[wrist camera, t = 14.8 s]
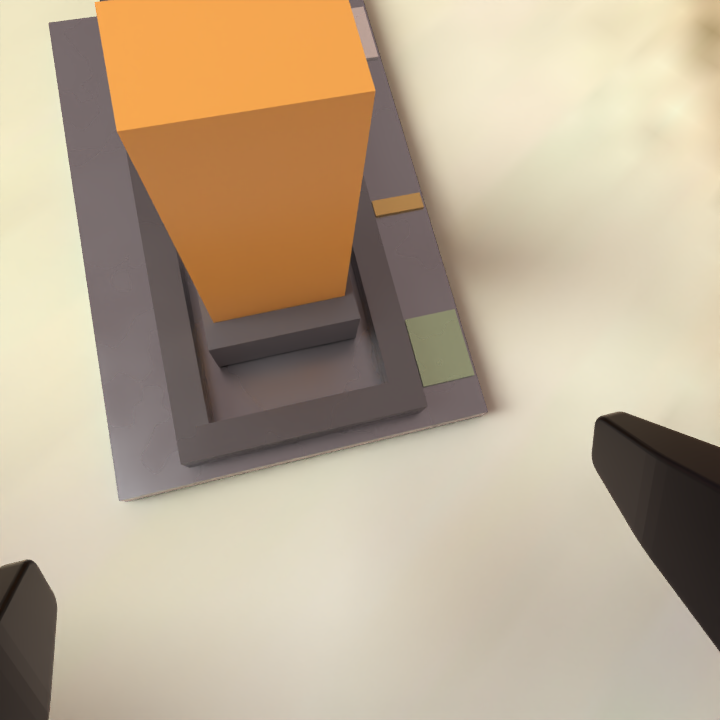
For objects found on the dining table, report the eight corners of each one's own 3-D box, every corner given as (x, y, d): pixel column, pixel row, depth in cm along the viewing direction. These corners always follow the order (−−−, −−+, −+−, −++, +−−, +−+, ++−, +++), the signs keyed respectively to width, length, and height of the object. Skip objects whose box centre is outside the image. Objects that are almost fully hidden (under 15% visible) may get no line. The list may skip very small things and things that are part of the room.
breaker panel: (481, 415, 20) (498, 405, 18) (127, 501, 19) (106, 500, 17) (356, -1, 24) (360, -46, 23) (57, 39, 23) (34, -5, 21)
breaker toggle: (355, 337, 20) (406, 130, 9) (218, 367, 19) (103, 182, 9) (328, 231, 21) (346, -69, 10) (197, 256, 20) (68, -36, 9)
